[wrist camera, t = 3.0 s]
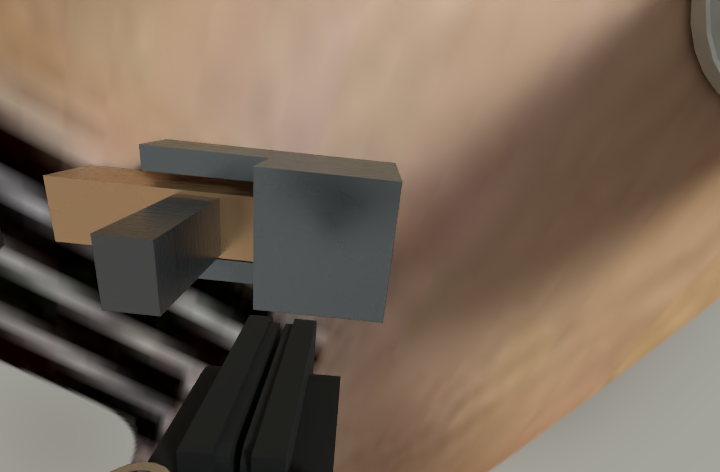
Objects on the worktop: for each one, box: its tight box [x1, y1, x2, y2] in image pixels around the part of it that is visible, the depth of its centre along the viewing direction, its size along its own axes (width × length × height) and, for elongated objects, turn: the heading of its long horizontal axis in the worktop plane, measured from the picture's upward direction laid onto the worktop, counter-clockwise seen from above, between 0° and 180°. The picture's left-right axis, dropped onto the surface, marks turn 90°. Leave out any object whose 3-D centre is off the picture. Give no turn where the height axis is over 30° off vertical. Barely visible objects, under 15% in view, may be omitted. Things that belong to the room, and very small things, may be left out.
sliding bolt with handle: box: [43, 165, 253, 316], centre depth 16 cm, size 16×3×8 cm, turn 84°
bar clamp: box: [0, 139, 402, 323], centre depth 18 cm, size 27×7×5 cm, turn 84°
